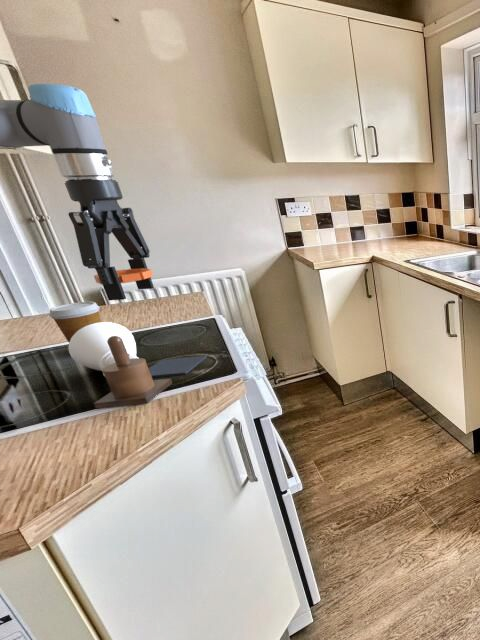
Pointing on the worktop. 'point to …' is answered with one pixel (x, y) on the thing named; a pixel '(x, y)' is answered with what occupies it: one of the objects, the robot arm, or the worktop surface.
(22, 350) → the worktop surface
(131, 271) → the ring
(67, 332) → the disposable coffee cup
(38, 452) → the worktop surface
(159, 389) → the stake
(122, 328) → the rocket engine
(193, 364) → the mat
